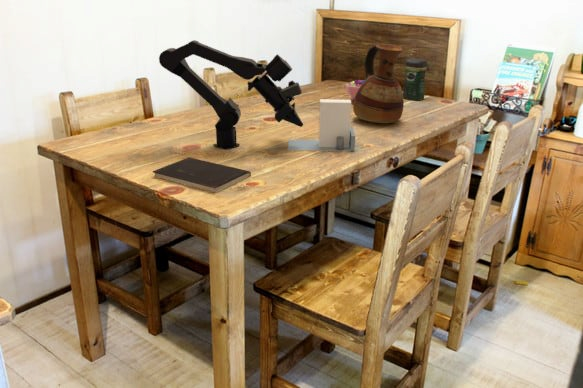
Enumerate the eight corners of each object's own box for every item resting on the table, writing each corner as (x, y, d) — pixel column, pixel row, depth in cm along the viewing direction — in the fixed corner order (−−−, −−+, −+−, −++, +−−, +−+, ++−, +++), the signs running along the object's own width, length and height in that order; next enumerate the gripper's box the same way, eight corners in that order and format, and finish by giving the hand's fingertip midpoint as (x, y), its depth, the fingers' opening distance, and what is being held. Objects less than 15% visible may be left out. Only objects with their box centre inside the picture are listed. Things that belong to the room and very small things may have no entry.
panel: (318, 146, 182) (320, 102, 177) (318, 143, 186) (320, 99, 181) (349, 147, 182) (351, 102, 176) (348, 143, 186) (350, 99, 181)
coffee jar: (426, 99, 259) (430, 58, 252) (417, 101, 253) (421, 60, 247) (409, 95, 265) (412, 56, 258) (399, 98, 260) (403, 58, 253)
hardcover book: (215, 195, 146) (215, 187, 145) (153, 178, 157) (152, 171, 157) (251, 177, 159) (250, 170, 158) (190, 163, 170) (190, 156, 169)
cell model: (338, 99, 257) (340, 74, 253) (377, 96, 262) (379, 73, 258) (353, 107, 242) (354, 81, 238) (394, 104, 247) (396, 79, 243)
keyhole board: (287, 152, 179) (287, 134, 177) (289, 142, 191) (289, 125, 188) (355, 154, 179) (356, 136, 177) (352, 143, 190) (353, 126, 188)
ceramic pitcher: (379, 130, 207) (385, 48, 195) (341, 119, 221) (345, 42, 210) (412, 122, 218) (420, 44, 207) (375, 112, 233) (379, 39, 221)
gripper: (286, 79, 167) (320, 116, 171) (288, 69, 185) (319, 103, 188) (260, 104, 170) (294, 139, 174) (265, 91, 188) (296, 124, 192)
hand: (302, 125), depth 182 cm, fingers closed
